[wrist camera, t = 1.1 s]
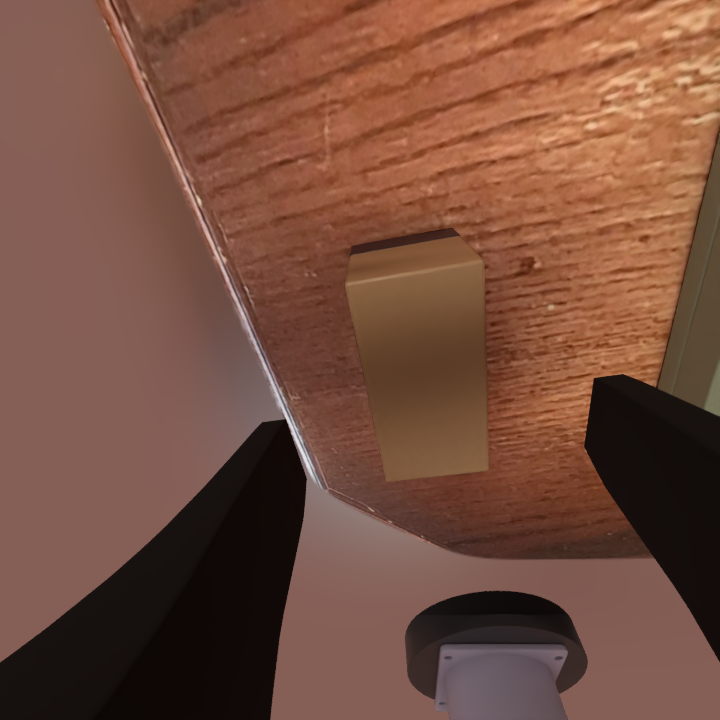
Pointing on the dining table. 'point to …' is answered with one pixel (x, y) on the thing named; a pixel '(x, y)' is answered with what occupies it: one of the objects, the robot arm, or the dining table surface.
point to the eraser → (423, 351)
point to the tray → (699, 311)
